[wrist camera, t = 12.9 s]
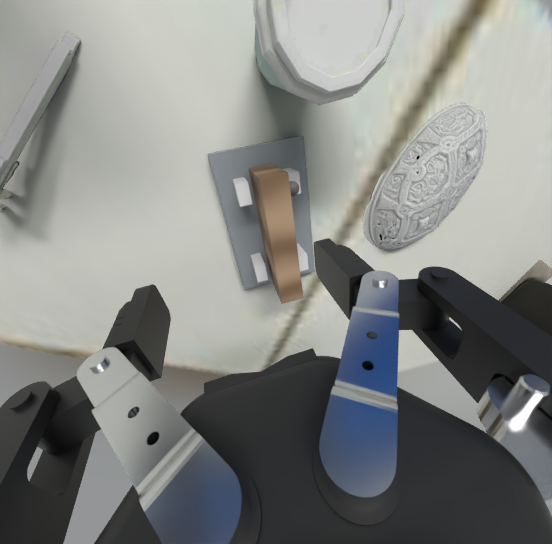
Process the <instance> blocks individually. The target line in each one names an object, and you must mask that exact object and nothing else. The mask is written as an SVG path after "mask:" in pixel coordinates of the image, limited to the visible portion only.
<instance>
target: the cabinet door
mask: <svg viewBox="0 0 552 544" xmlns="http://www.w3.org/2000/svg"><path fill="white" fill-rule="evenodd" d="M249 173H250V178H251V183H252V188H253V193H254V198H255V203H256V208H257V213H258V218H259V223H260V228H261V233H262V238H263V243H264V248H265V253H266V258H267V263H268V268H269V273H270V276H271V279H272V281H273V283H274V286H275V288H276V291H277V293H278V296H279V298H280V301H281V303H286V302H290V301H294V300H297V299H301V298H303V291H302V283H301V275H300V266H299V258H298V250H297V241H296V233H295V225H294V216H293V208H292V200H291V196H295V195H297V194H298V192H299V185H298V183H297V182H295V181H289V175H288V172H287V171H285V170H283V169H281V168H279V167H277V166H275V165H274V164H272V163H271V164H266V165H261V166H256V167H251V168H249Z"/></svg>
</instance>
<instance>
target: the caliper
mask: <svg viewBox="0 0 552 544" xmlns="http://www.w3.org/2000/svg"><path fill="white" fill-rule="evenodd" d="M80 42H81V40H80V39H78V38H77V37H76V36H75V35H74V34H72V33H71V32H70V31H68V32H66V33H65V35H64V37H63V39H62V40H61V42H60V41H59V40H58V41H57V42H56V44H55V46H54V48H53V50H52V51H51V53H50V55H49V57H48V59H47V60H46V62H45V64H44V66H43V67H42V69H41V71H40V73H39V75H38V76H37V78H36V80H35V82H34V84H33V85H32V87H31V89H30V91H29V93H28V94H27V96H26V98H25V100H24V102H23V103H22V105H21V107H20V109H19V111H18V112H17V114H16V116H15V118H14V120H13V121H12V123H11V125H10V127H9V129H8V130H7V132H6V134H5V136H4V137H3V139H2V141H1V143H0V199H6V198H11V197H12V195H13V194H12V193H10V192H8V191H6V190H4V189H3V187H4V185H5V183H7V182H8V180H9V179H10V178H11V177H12V175H13V174H14V171H15V169H16V168H17V167H18V165H19V162H18V161H16V160H17V159H18V157H19V155H20V153H21V152H22V150H23V148H24V146H25V145H26V143H27V141H28V139H29V137H30V136H31V134H32V132H33V130H34V129H35V127H36V125H37V123H38V122H39V120H40V118H41V116H42V115H43V113H44V111H45V109H46V108H47V106H48V104H49V102H50V101H51V99H52V97H53V95H54V94H55V92H56V90H57V88H58V87H59V85H60V83H61V81H62V80H63V78H64V76H65V74H66V73H67V71H68V69H69V67H70V64H71V62H72V60H73V58H74V55H75V54H74V53H75V51H76V49H77V48H78V46H79V44H80ZM6 208H7V206H4V205H2V204H0V212H2V211H4V210H5V209H6Z"/></svg>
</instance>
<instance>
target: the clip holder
mask: <svg viewBox="0 0 552 544" xmlns="http://www.w3.org/2000/svg"><path fill="white" fill-rule="evenodd" d="M208 158H209V162H210V165H211V169H212V173H213V176H214V180H215V184H216V187H217V191H218V194H219V198H220V202H221V205H222V209H223V213H224V216H225V220H226V224H227V227H228V231H229V234H230V238H231V242H232V245H233V249H234V253H235V256H236V260H237V264H238V267H239V271H240V274H241V278H242V282H243V285H244V289H248V288H252V287H256V286H260V285H264V284H267V283H271V282H273V281H272V279H271V276H270V273H269V268H268V263H267V258H266V253H265V248H264V243H263V238H262V233H261V228H260V223H259V218H258V213H257V208H256V203H255V198H254V193H253V188H252V183H251V178H250V173H249V168H251V167H256V166H261V165H266V164H271V163H272V164H274V165H275V166H277V167H279V168H281V169H283V170H285V171H287V172H288V175H289V181H295V182H297V183H298V185H299V192H298V194H297V195H295V196H291V200H292V208H293V216H294V225H295V233H296V241H297V250H298V258H299V266H300V275H302V274H306V273H310V272H313V271H315V268H314V257H313V245H312V233H311V221H310V209H309V197H308V185H307V173H306V161H305V150H304V138H303V136H297V137H292V138H287V139H282V140H277V141H271V142H266V143H261V144H256V145H251V146H246V147H240V148H235V149H230V150H225V151H220V152H215V153H209V154H208Z"/></svg>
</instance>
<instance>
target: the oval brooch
mask: <svg viewBox="0 0 552 544" xmlns="http://www.w3.org/2000/svg"><path fill="white" fill-rule="evenodd" d="M485 117H486V116H485V113H484V111H483V110H478V109H476V108H474V107H472V106H470V105H468V104H466V103H460V104H455V105H452V106H449V107H447V108H445V109H443V110H442V111H440V112H438V113H437V114H436V115H434V116H433V117H432V118H431V119H430V120H428V121H427V122H426V123H425V124H424V125H423V126H422V127H421V128H420V129H419V130H418V131H417V133H416V134H415V135H414V136H413V137H412V138H411V140H410V141H409V142H408V143H407V144H406V146H405V147H404V148H403V150H402V151H401V152H400V153H399V155H398V156H397V158H396V159H395V160H394V162H393V163H392V164H391V166H390V167H389V168H388V169H387V170H386V171H385V172H384V173H383V174H382V175H381V177H380V178H379V180H378V183H377V184H376V187H375V190H374V192H373V193H372V198H371V201H370V202H369V204H368V205H367V207H366V209H365V212H364V216H363V229H364V235H365V237H366V239H367V240H368V241H369V242H370V243H371V244H372V245H375V246H376V247H379V248H382V249H389V250H391V249H398V248H401V247H404V246H406V245H408V244H411V243H413V242H415V241H417V240H418V239H420V238H422V237H424V236H425V235H426V234H429V233H431V232H433V231H434V230H435V229H436V228H437V227H439V225H440V224H441V223H442V222H443V220H444V219H445V218H446V217H447V216H448V215H449V214H450V213H451V211H452V210H454V209H455V208H456V206H457V205H458V204H459V203H460V201H461V200H462V198H463V197H464V194H465V193H466V191H467V190H468V188H469V187H470V185H471V184H472V182H473V180H474V179H475V177H476V176H477V174H478V172H479V170H480V168H481V166H482V163H483V158H484V152H485V147H486V133H487V124H486V123H487V122H486V118H485ZM418 155H419V157H420V158H419V159H418V160H417V159H416V158H417V156H418ZM408 162H409V164H408ZM417 172H419V173H418V174H417ZM378 199H379V201H378ZM378 223H380V224H381V225H378ZM394 224H396V226H395V225H394ZM392 225H394V227H395V228H393V226H392ZM375 226H376V227H375ZM391 227H392V228H391ZM380 234H381V235H382V240H380ZM385 237H386V238H385ZM384 238H385V239H384ZM391 238H395V239H391ZM380 243H382V244H380ZM397 243H400V244H397Z"/></svg>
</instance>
